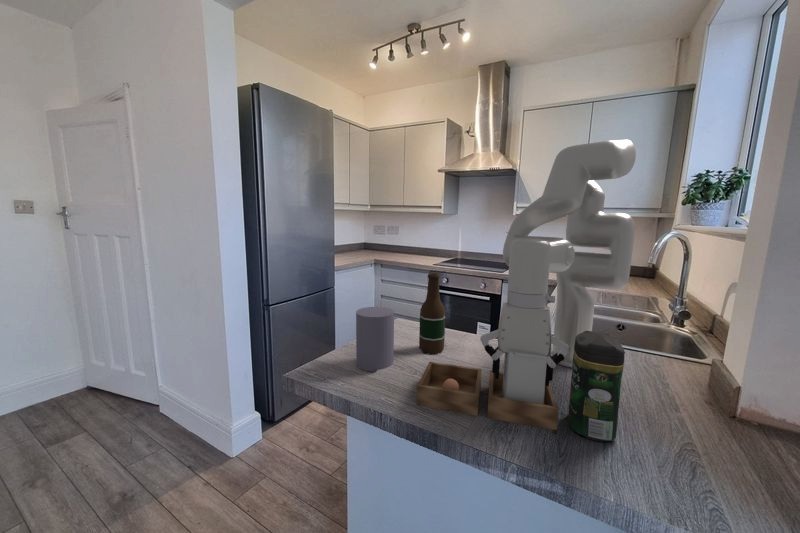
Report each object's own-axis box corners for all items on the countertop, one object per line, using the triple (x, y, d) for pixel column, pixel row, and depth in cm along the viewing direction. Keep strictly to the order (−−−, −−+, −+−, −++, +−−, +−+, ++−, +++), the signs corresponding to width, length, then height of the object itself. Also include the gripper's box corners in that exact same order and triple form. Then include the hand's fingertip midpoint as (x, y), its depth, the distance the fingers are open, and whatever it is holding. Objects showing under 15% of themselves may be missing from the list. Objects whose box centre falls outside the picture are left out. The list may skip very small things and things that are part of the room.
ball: (459, 392, 73) (460, 377, 73) (457, 400, 70) (458, 384, 69) (443, 389, 74) (444, 374, 74) (441, 397, 71) (441, 382, 70)
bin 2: (546, 399, 72) (548, 378, 71) (556, 434, 60) (558, 409, 60) (488, 390, 76) (489, 370, 75) (487, 421, 64) (488, 397, 63)
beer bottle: (445, 355, 96) (448, 276, 92) (419, 354, 96) (421, 275, 92) (442, 345, 103) (445, 272, 100) (418, 344, 103) (420, 271, 100)
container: (368, 353, 96) (368, 305, 94) (399, 360, 91) (400, 309, 89) (348, 367, 87) (348, 313, 85) (382, 375, 82) (382, 319, 80)
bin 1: (480, 388, 76) (481, 369, 76) (477, 419, 64) (478, 396, 64) (428, 380, 80) (429, 361, 79) (416, 408, 68) (417, 386, 67)
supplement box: (543, 419, 63) (548, 358, 62) (504, 413, 65) (508, 354, 63) (536, 399, 71) (540, 344, 69) (501, 394, 72) (504, 341, 71)
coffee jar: (565, 409, 68) (573, 325, 66) (609, 419, 65) (619, 331, 63) (569, 436, 60) (578, 340, 57) (619, 449, 56) (631, 348, 54)
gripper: (569, 299, 66) (562, 377, 68) (483, 292, 71) (479, 366, 73) (578, 308, 59) (570, 395, 61) (481, 300, 64) (477, 381, 66)
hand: (520, 379), depth 67 cm, fingers open, 9 cm apart
